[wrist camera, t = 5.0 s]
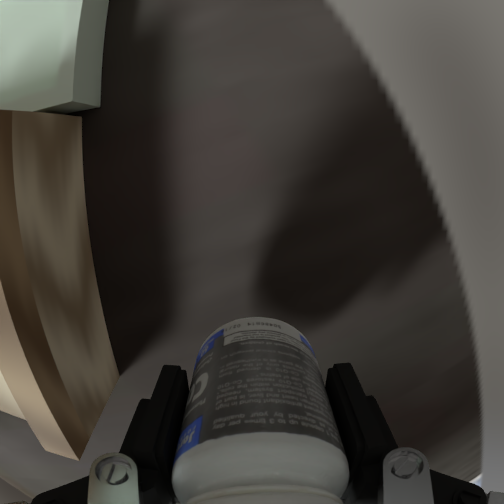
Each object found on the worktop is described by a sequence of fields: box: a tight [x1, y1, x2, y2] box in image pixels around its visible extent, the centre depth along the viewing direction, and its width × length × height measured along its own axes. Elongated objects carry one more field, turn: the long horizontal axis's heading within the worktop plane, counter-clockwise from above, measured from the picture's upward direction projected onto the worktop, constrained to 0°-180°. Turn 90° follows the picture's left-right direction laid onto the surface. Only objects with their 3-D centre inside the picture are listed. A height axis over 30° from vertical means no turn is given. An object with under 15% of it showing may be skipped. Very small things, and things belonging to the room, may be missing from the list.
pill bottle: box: [171, 317, 349, 504], centre depth 8 cm, size 5×5×8 cm
